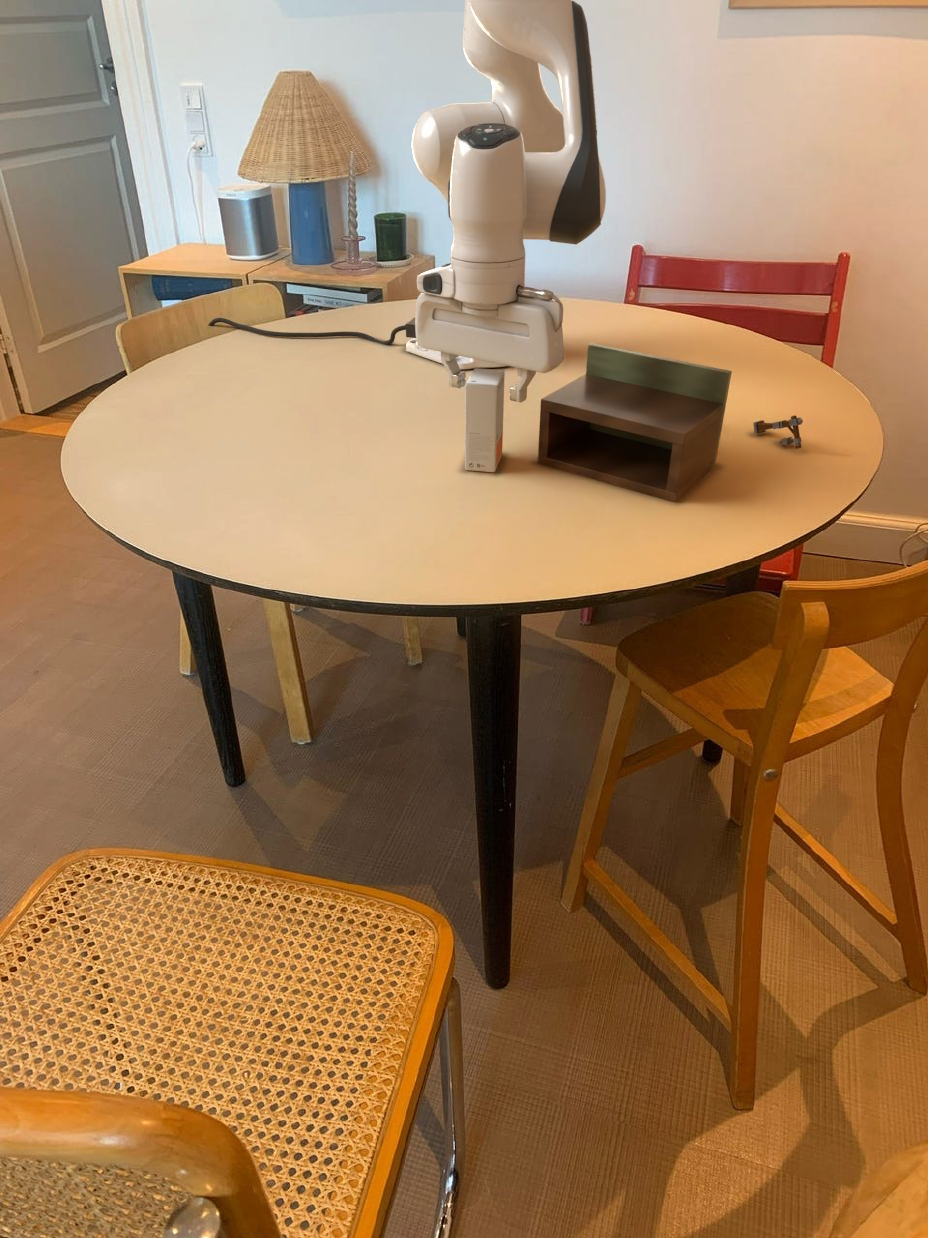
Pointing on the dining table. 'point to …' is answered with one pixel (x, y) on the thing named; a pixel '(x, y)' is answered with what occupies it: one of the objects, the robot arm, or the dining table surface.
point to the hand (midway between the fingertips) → (487, 393)
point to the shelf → (636, 422)
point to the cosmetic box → (484, 419)
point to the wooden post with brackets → (794, 421)
